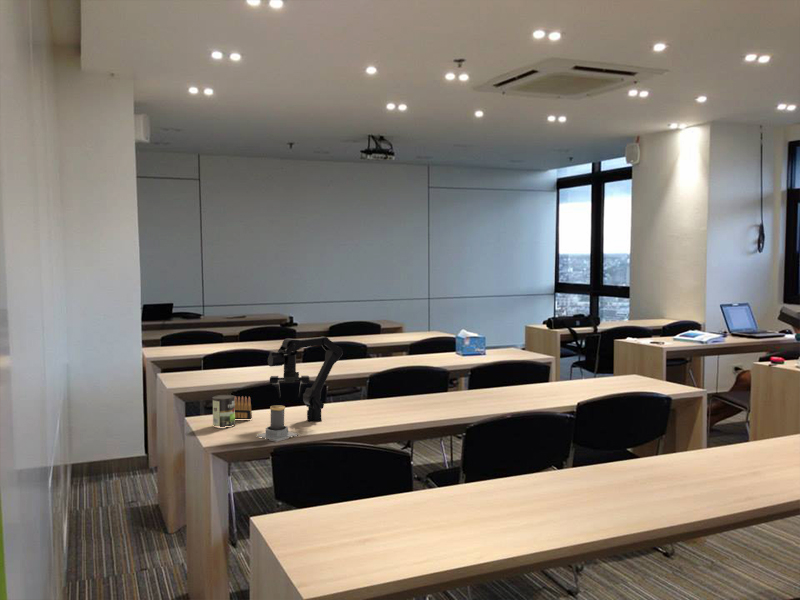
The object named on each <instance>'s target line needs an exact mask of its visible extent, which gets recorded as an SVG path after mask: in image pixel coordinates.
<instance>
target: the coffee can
mask: <svg viewBox="0 0 800 600" xmlns="http://www.w3.org/2000/svg"><path fill="white" fill-rule="evenodd" d="M235 396H236V395H232V394H217V395H214V396H212V398H211V399H212V426H213V425H214V426H220V427H225V426H232V425H234V424H235V425H236V420H235Z"/></svg>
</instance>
